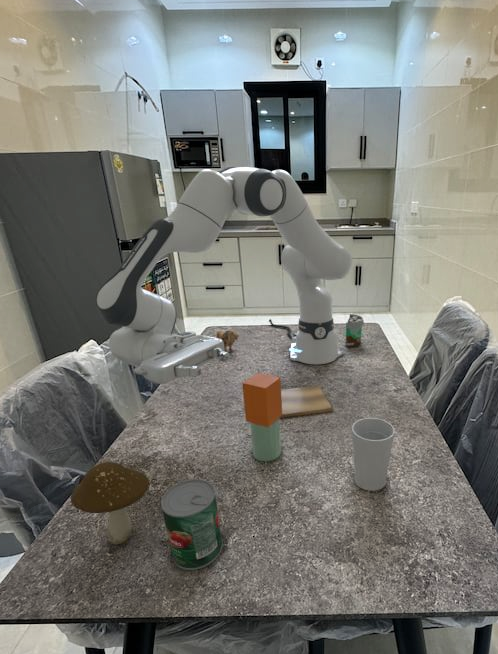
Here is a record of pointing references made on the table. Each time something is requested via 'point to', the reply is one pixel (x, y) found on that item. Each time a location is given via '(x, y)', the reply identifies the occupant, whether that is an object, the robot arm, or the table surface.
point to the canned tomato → (192, 523)
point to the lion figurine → (227, 338)
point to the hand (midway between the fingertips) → (213, 364)
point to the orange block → (262, 399)
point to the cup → (371, 452)
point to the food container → (354, 330)
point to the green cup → (266, 441)
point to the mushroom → (111, 496)
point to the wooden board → (304, 401)
